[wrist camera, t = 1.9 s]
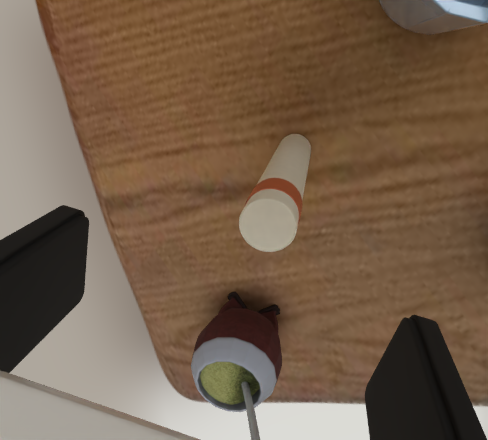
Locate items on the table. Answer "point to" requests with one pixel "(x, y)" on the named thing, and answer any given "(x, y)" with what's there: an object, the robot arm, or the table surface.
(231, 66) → the table surface
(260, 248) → the beige cylinder rod
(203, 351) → the mate gourd
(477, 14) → the tumbler
